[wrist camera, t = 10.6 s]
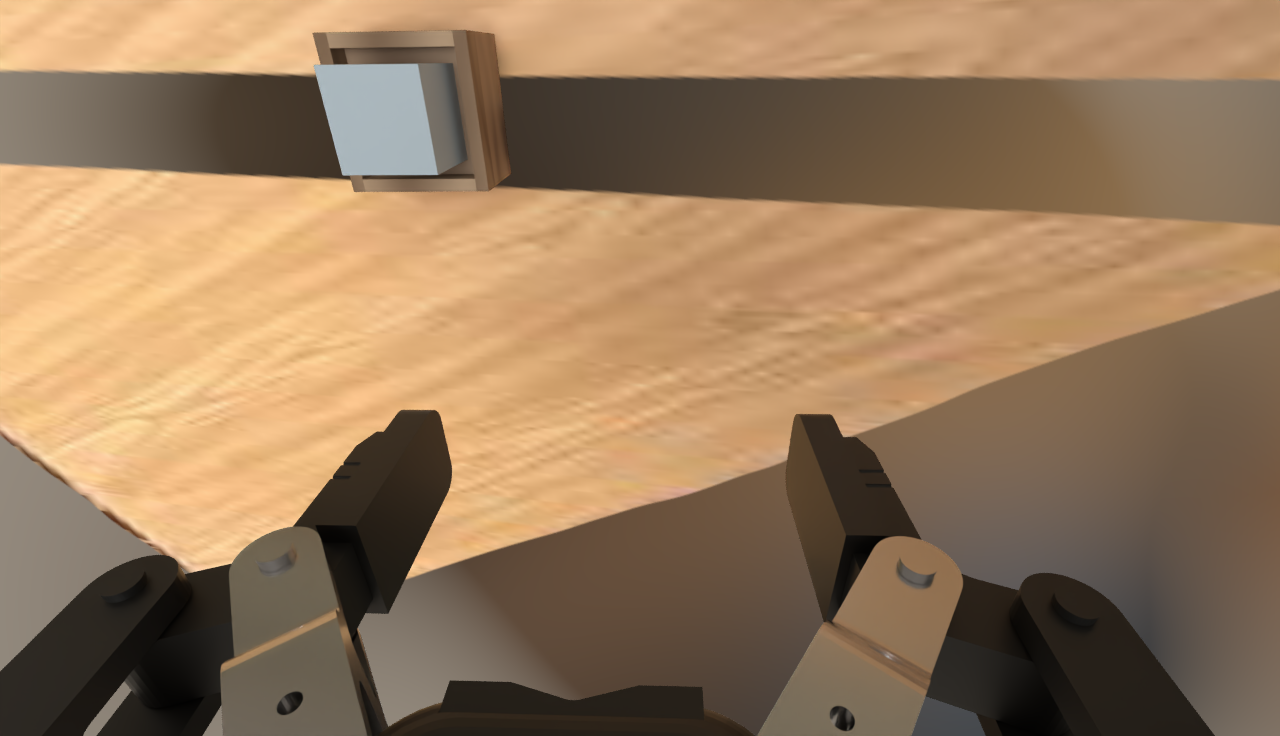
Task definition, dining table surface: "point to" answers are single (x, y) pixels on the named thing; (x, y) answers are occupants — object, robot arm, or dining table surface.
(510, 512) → the dining table surface
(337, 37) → the walnut base
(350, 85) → the bluegrey cube
